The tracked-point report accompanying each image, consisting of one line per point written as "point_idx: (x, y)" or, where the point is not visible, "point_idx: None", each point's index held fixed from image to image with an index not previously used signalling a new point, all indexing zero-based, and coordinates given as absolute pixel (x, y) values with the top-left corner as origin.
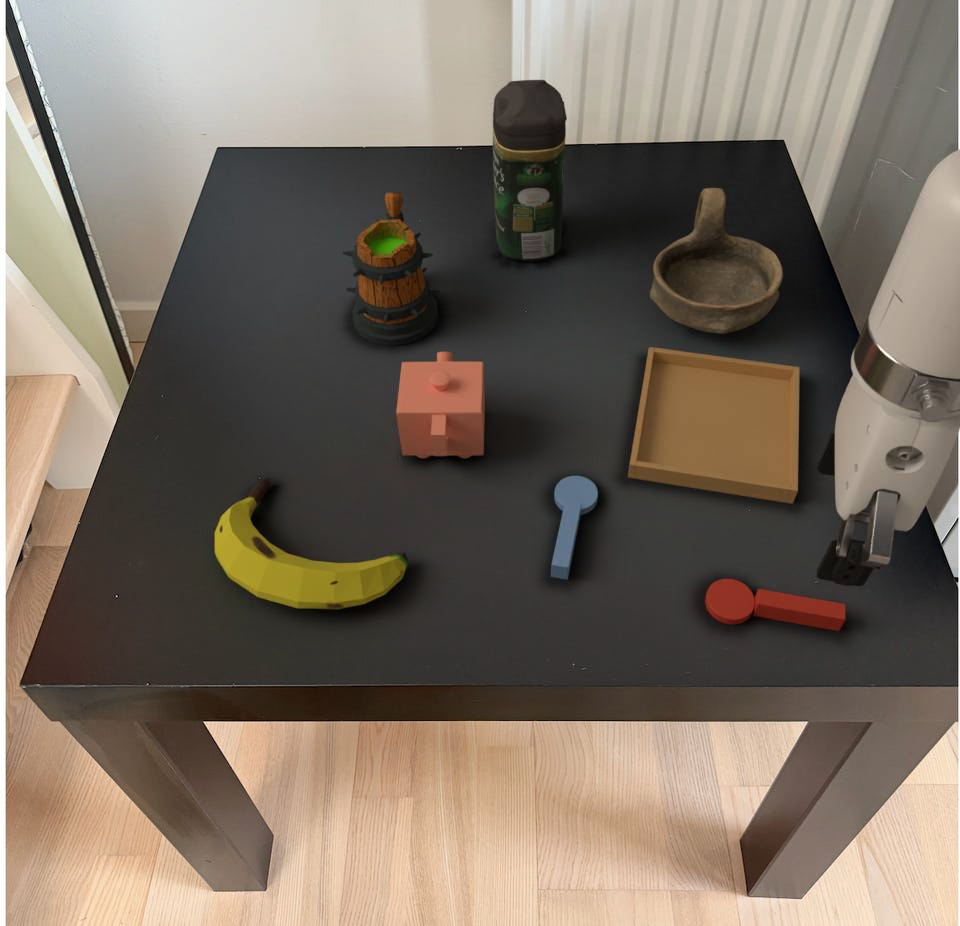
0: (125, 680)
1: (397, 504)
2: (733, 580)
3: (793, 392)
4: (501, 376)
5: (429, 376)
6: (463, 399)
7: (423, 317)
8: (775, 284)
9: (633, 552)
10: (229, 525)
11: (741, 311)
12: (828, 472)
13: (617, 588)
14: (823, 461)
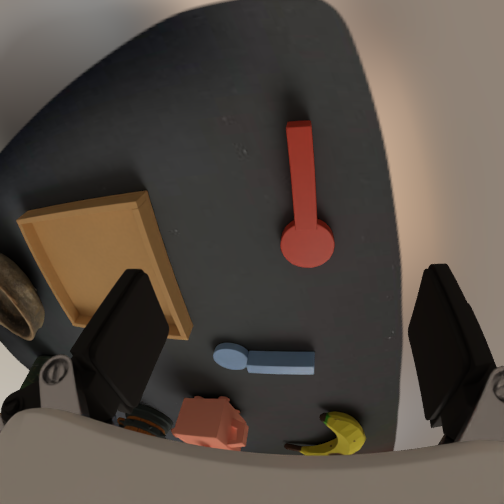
0: (394, 445)
1: (279, 415)
2: (282, 246)
3: (37, 221)
4: (153, 384)
5: None
6: (210, 441)
7: (146, 417)
8: None
9: (271, 317)
10: None
11: (9, 288)
12: (162, 322)
13: (314, 323)
14: (157, 355)
